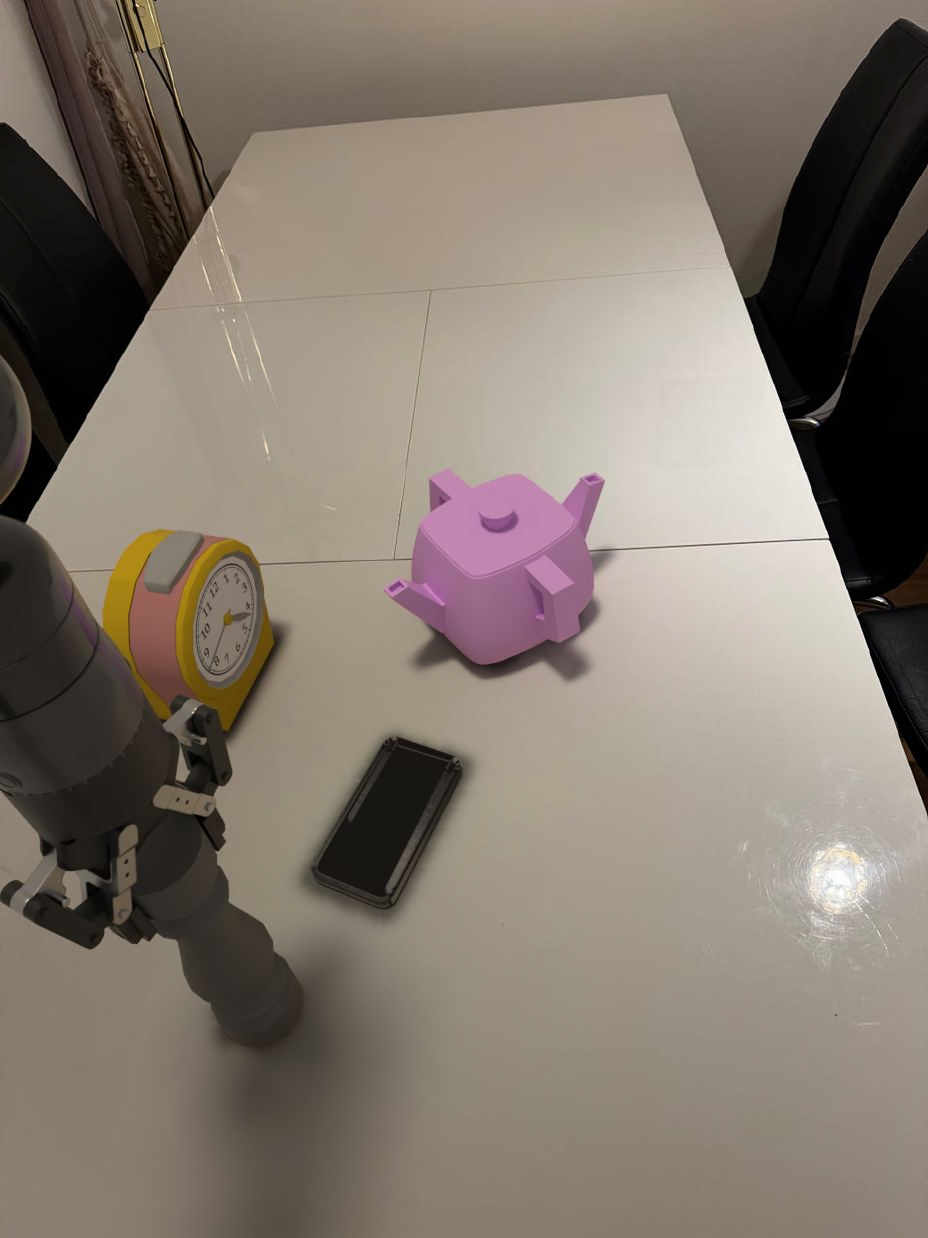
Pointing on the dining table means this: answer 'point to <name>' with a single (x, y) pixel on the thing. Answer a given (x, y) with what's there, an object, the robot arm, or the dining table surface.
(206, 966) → the candle holder
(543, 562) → the teapot
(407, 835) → the phone
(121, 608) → the alarm clock
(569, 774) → the dining table surface
